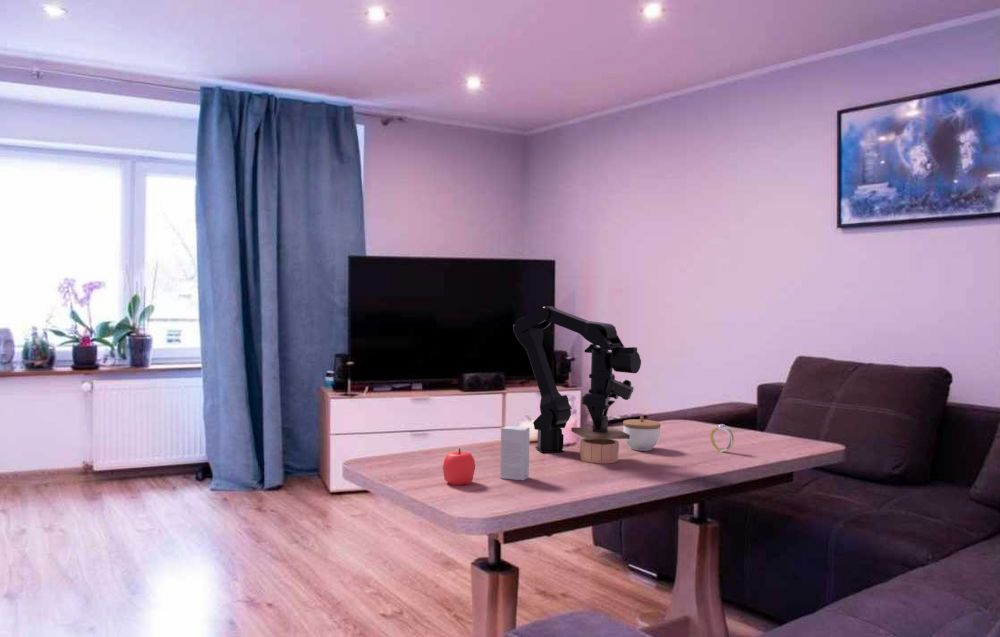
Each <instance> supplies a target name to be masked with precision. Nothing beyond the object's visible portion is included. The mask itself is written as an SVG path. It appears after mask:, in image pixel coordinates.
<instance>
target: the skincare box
mask: <svg viewBox="0 0 1000 637" xmlns="http://www.w3.org/2000/svg"><path fill="white" fill-rule="evenodd" d="M530 432H531V431H530V427H524V426H511V425H506V426H504V427H502V428H500V471H499V472H500V474H499V475H500V476H499V477H500V479H505V480H514V481H525V480H526V479H528V478H529V476H530V474H529V473H530Z"/></svg>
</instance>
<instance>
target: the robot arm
mask: <svg viewBox="0 0 1000 637" xmlns="http://www.w3.org/2000/svg"><path fill="white" fill-rule="evenodd" d="M551 324H555V325H557V326H559V327H562V328H565V329H566V330H569V331H572V332H574V333H577V334H579V335H580V336H582V337H583V339H584V340H586V341H587V342H589V343H590V344H589V346H588V347H586V348H585V349H584V351H583V352H584V353H585V354H586V353H588V354H591V359H590V360H591V361H590V363H591V364H590V373H589V374H588V376H589V377H588V378H589V379H590V389H588V392H587V393H585V394H584V395H583V396H582V398H581V404H582V405H584V406H586V407H587V408H586V409H587V410H588V413H589V415H590V418H591V420H592V423H593V422H594V425H595V427H596V429H598V430H600V429H601V424H602V419H603V416H608V412H609V409H610V407H611V406H612V405H613V404H614V403H616V400H618V399H619V397H620V398H621V399H622V400H626V401H628V400H630V399H631V397H632V394H633V392H634V390H635V388H634V386H632V381H630V380H628V379H625V380H624V381H621V380H616V376H615V374H614V373H613V371H614V372H616V373H617V372H618V373H628V374H637V373H639V371H640V369H641V366H642V359H641V357H640V356H641V355H640V353H639V351H638V347H637V346H636V347H635V346H629V347H625V345H624V343H623V342H622V340H621V339H620V337H619V335H618V331H617V329H616V327H615V325H613V324H611V323H607V322H601V321H600V322H599V321H592V320H587V319H585V318H583V317H579V316H577V315H575V314H571V313H569V312H566V311H563V310H560V309H559V308H557V307H555V306H542V307H541V308H539V309H538V310H537V311H534V312H532V313H529V314H526V316H524V317H523V316H522V317H518V318H517V319H516V320H515V321H514V324H513V325H512V328H513V329H512V330H513V333H514V334H515V337H516V339H517V340H518V343H519V344H521V345H522V347H523V348H524V349H525V350H526V353H527V356H528V359H529V363H530V365H531V369H532V372H533V375H534V378H535V381H536V383H537V384H536V385H537V387H538V390H539V394H540V403H539V410H540V415H539V416H538V417H537V418H536V419H534V421H533V423H532V424H533V427H534V430H535V431H537V446H535V449H536V450H538V451H539V452H540V453H563V452H564V439H565V438H564V434H563V429H565V428H566V426H567V423H568V421H570V418H571V416H572V411H571V410H572V407H571V405H570V401H569V397H568V395H566V394H565V395H562V394H561V393H560V392H559V391H558V389H557V385H556V383H555V378H554V376H553V373H552V370H551V366H550V364H549V360H548V358H547V354H546V351H545V349H544V346H543V342H544V341H543V340H544V329H546V328H548V327H549V326H550V325H551ZM612 398H613V399H614V400H611V399H612Z"/></svg>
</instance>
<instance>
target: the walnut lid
mask: <svg viewBox="0 0 1000 637" xmlns="http://www.w3.org/2000/svg"><path fill="white" fill-rule="evenodd" d="M608 419H609V417H608V415H607V416H603V419H602V424H601V429H600V430H598V429H596V427H595V425H594V422H593V421H592V427H591V426H588V427H583V426H582V427H570V428H571V431H570V432H572V433H574V434H575V435H577V436H579V437H581V438H582V439H584V438H585V439H613V440H625V439H630V435H629V434H627V433H624V431H622V430H619V429H618V428H615V427H613V426H611V427H610V426H608V422H609V420H608Z"/></svg>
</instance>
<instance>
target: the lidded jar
mask: <svg viewBox="0 0 1000 637" xmlns="http://www.w3.org/2000/svg"><path fill="white" fill-rule="evenodd" d="M644 418H645V417H644V416H640V417H639V419H634V418H633V419H626V420H623V422H622V425H623V431H622V432H624V433H627V434H629V435H630V439H624V441H625V443H626V444H627V445H628V446H629V447H630V448H629V449H631V450H633V451H642V452H643V451H644V452H645V451H646V452H648V451H651V450H652V449H653V448H654V447H656V445H657V443H658V442H659V438H660V433H661V422H659V421H657V420H651V419H644Z"/></svg>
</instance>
